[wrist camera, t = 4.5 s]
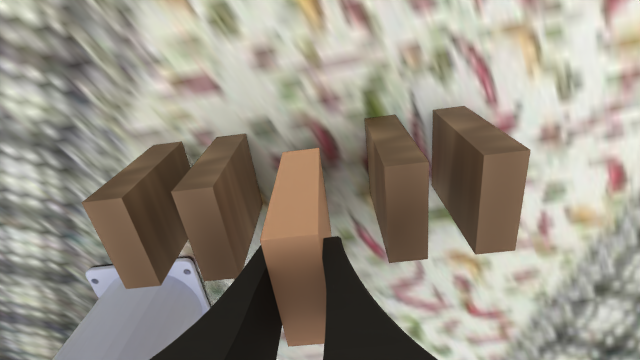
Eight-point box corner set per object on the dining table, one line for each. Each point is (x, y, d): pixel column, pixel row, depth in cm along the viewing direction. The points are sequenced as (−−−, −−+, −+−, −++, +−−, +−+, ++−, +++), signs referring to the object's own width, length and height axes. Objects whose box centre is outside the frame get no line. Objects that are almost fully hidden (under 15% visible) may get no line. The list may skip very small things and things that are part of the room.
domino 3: (318, 147, 17) (317, 234, 10) (331, 230, 19) (335, 342, 13) (282, 152, 17) (259, 240, 10) (299, 234, 19) (288, 346, 13)
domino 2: (245, 133, 21) (212, 187, 14) (262, 204, 23) (240, 277, 16) (216, 137, 21) (171, 192, 14) (236, 207, 23) (204, 281, 17)
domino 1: (181, 141, 21) (121, 198, 15) (204, 210, 23) (160, 285, 17) (153, 145, 21) (81, 202, 15) (179, 213, 23) (126, 289, 17)
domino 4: (395, 114, 20) (428, 161, 14) (397, 189, 22) (427, 259, 16) (364, 118, 20) (384, 166, 14) (370, 192, 22) (389, 263, 16)
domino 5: (464, 105, 20) (530, 150, 13) (459, 182, 22) (515, 250, 16) (433, 109, 20) (484, 155, 14) (431, 185, 22) (475, 254, 16)
